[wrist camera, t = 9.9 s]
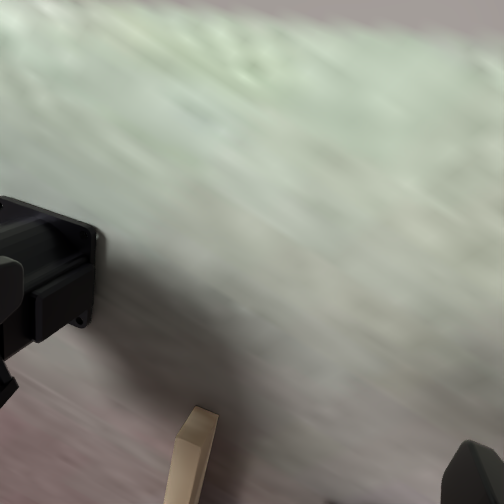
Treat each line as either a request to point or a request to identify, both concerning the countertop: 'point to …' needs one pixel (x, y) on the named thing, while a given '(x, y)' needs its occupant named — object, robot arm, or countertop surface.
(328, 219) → the countertop surface
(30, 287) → the robot arm
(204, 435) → the guarded bay
